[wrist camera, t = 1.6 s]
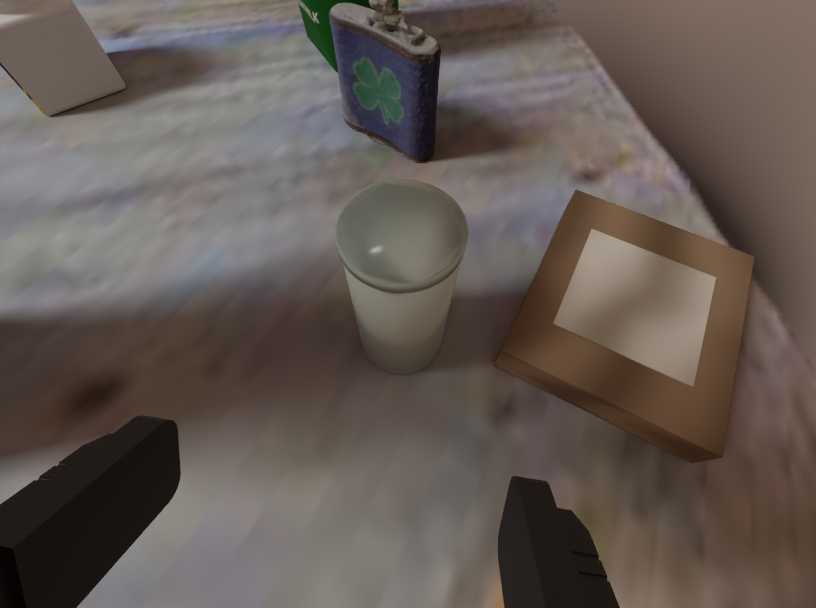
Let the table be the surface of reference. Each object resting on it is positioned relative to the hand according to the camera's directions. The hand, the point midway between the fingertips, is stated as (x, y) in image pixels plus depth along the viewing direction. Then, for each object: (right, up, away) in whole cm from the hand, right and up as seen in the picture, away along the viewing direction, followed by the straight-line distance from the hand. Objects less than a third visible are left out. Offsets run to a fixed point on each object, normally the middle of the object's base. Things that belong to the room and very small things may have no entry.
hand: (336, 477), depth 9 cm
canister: (+1, +2, +16) cm, 17 cm away
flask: (0, +19, +26) cm, 32 cm away
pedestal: (+16, +3, +17) cm, 24 cm away
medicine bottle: (-29, +25, +28) cm, 48 cm away
